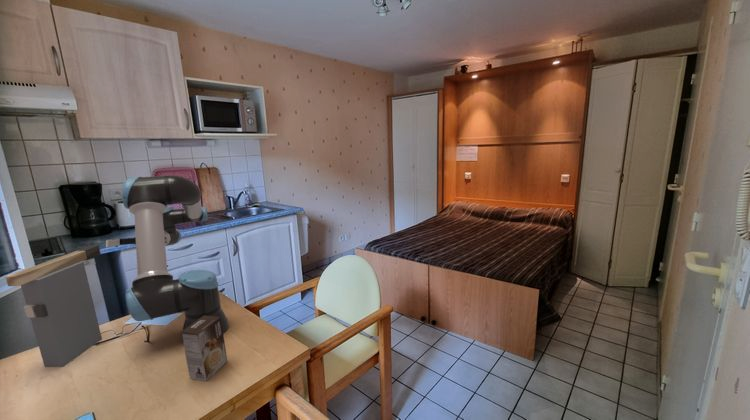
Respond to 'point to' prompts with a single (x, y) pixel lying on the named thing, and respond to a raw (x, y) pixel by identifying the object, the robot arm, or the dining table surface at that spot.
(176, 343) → the dining table surface
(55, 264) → the wooden bar
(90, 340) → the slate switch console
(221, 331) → the coffee box
